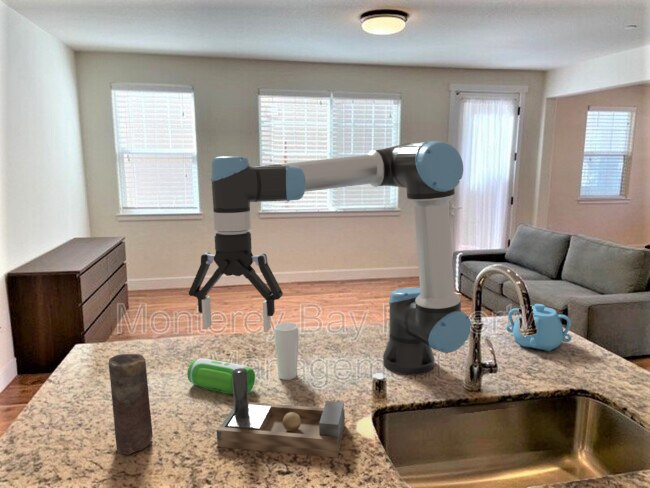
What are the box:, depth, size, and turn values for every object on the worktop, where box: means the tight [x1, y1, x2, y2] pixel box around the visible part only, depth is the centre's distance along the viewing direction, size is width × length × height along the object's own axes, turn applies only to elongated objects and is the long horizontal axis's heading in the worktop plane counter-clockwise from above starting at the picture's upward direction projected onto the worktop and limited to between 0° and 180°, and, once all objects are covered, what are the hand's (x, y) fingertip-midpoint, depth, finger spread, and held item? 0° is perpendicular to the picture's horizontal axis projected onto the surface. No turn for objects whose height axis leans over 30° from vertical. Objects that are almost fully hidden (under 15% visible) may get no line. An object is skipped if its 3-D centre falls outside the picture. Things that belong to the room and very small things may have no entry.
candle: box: [108, 353, 154, 455], centre depth 97 cm, size 8×7×20 cm
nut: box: [283, 412, 301, 432], centre depth 101 cm, size 4×4×4 cm
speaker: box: [186, 358, 256, 395], centre depth 123 cm, size 18×7×8 cm, turn 67°
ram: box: [228, 368, 271, 431], centre depth 101 cm, size 7×9×13 cm
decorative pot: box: [506, 303, 572, 352], centre depth 149 cm, size 16×16×14 cm
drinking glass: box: [273, 321, 300, 381], centre depth 128 cm, size 7×7×15 cm
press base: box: [216, 400, 346, 459], centre depth 101 cm, size 26×12×6 cm, turn 81°
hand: (237, 328), depth 99 cm, fingers open, 13 cm apart
